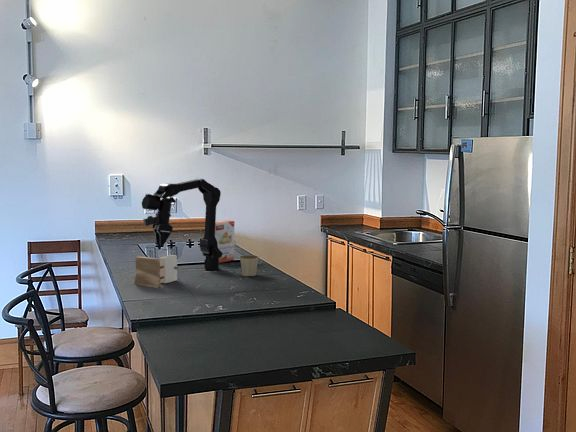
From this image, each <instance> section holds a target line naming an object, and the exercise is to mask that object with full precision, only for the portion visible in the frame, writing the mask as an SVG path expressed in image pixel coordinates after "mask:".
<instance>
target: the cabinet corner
mask: <svg viewBox="0 0 576 432" xmlns="http://www.w3.org/2000/svg"><path fill="white" fill-rule="evenodd" d="M162 268H164V266H160V258H156V257H147V256H136V257H135V276H134V284H135V285H136V286H142V287H147V288H148V287H149V288H155V289H157V288H161V283H160V279H163V278H164V276H162V277H160V269H162Z"/></svg>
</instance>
